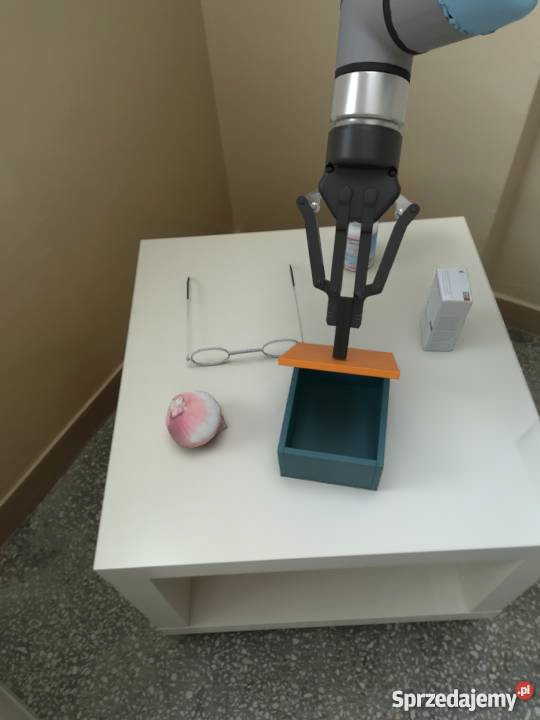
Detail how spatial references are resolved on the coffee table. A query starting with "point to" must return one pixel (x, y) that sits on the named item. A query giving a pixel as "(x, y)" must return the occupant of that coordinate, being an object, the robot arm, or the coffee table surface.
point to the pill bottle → (354, 245)
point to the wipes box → (334, 428)
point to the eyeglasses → (240, 350)
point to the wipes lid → (341, 360)
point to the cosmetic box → (446, 309)
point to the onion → (194, 418)
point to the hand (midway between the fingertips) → (339, 355)
